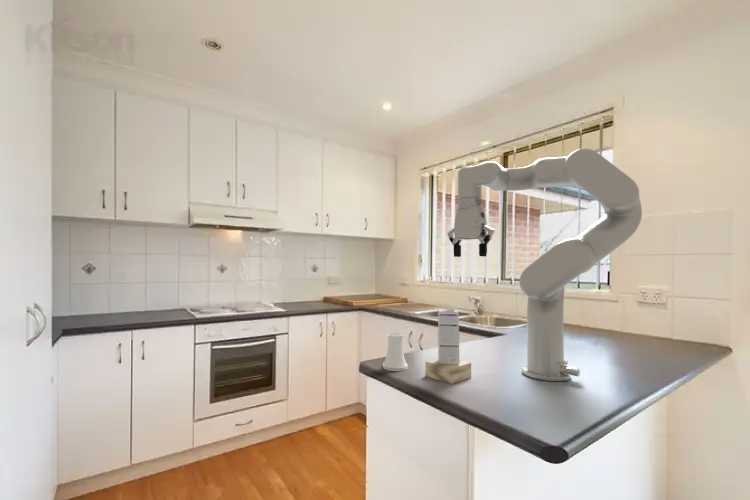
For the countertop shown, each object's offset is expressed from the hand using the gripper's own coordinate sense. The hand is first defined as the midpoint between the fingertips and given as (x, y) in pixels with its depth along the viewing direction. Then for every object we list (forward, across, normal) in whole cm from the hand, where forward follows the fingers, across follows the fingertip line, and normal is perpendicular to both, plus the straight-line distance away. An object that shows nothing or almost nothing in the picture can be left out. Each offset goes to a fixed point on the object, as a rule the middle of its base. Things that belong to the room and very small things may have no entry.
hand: (469, 256), depth 119 cm
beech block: (+34, -5, +18) cm, 39 cm away
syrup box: (+31, -5, +18) cm, 36 cm away
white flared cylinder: (+35, +11, +23) cm, 43 cm away
